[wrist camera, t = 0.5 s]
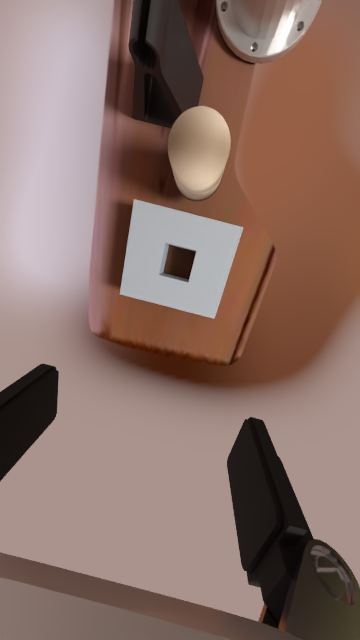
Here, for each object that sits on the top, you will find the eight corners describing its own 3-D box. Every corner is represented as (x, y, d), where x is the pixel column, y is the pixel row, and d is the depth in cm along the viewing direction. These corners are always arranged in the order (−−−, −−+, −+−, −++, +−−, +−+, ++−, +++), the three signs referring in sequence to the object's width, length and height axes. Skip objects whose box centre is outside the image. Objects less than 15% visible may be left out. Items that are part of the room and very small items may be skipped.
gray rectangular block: (142, 206, 32) (134, 199, 28) (237, 231, 32) (243, 227, 28) (128, 289, 36) (119, 294, 32) (212, 311, 36) (214, 318, 32)
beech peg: (182, 154, 30) (175, 97, 19) (224, 165, 30) (240, 114, 19) (172, 202, 32) (161, 174, 21) (212, 212, 32) (219, 189, 21)
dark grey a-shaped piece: (132, 118, 29) (91, 26, 17) (140, 64, 27) (98, -79, 16) (192, 133, 29) (189, 51, 17) (203, 80, 27) (208, -50, 15)
